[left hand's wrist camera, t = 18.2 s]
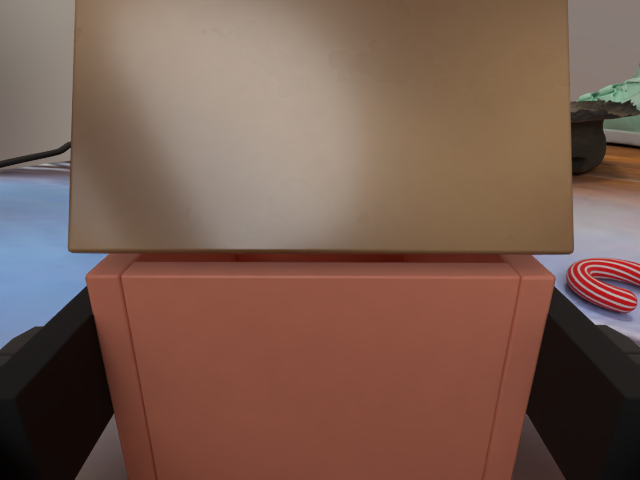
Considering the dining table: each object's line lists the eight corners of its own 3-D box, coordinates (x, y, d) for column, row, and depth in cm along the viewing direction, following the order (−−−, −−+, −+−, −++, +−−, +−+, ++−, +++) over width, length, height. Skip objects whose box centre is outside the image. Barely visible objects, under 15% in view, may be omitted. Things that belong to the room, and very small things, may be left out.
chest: (229, 325, 24) (215, 157, 21) (409, 326, 24) (424, 157, 21) (146, 570, 12) (82, 275, 9) (493, 571, 13) (558, 276, 9)
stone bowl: (672, 176, 55) (691, 98, 52) (483, 199, 53) (489, 118, 49) (549, 141, 78) (556, 86, 74) (412, 156, 75) (413, 99, 72)
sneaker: (535, 129, 99) (553, 28, 91) (741, 149, 75) (788, 15, 68) (506, 135, 90) (523, 24, 83) (728, 160, 66) (780, 7, 59)
